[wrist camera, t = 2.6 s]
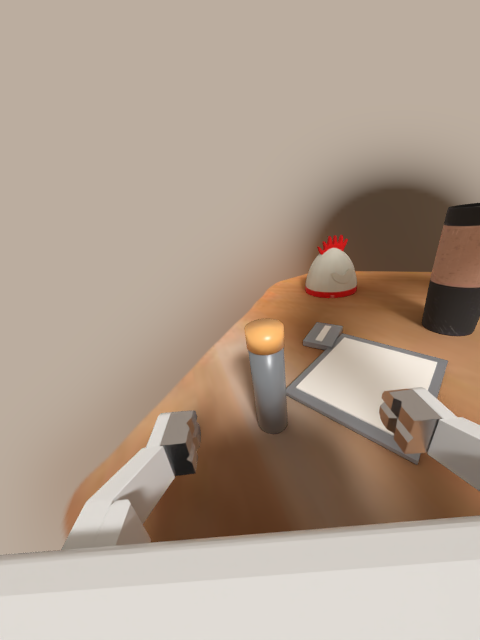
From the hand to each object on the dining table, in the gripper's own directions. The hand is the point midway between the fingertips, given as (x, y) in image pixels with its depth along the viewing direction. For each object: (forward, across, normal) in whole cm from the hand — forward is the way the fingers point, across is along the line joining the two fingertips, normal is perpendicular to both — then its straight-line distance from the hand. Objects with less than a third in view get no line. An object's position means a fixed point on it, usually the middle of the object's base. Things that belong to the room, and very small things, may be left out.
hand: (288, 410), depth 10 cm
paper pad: (+18, -15, +15) cm, 27 cm away
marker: (+12, 0, +15) cm, 20 cm away
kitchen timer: (+56, -24, +15) cm, 63 cm away
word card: (+30, -13, +15) cm, 36 cm away
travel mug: (+29, -35, +15) cm, 47 cm away
